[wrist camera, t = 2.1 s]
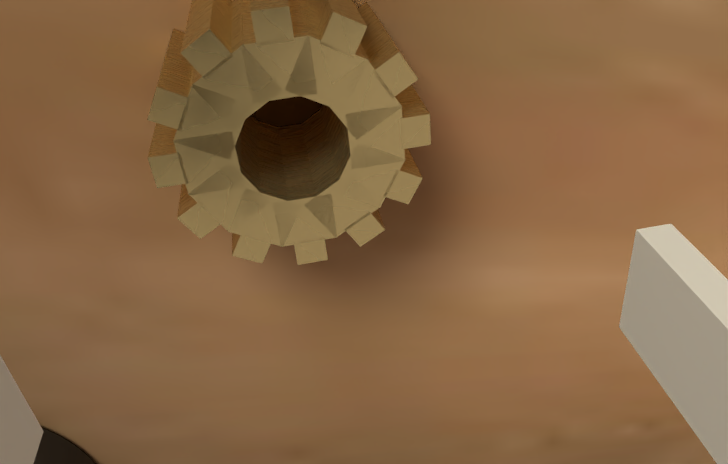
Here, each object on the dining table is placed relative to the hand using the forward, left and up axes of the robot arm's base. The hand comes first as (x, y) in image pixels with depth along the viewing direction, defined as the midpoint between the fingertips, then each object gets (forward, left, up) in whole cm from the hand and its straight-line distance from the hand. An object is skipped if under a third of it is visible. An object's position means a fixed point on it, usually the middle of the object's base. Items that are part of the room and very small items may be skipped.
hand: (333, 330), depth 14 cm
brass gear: (0, 0, -15) cm, 15 cm away
